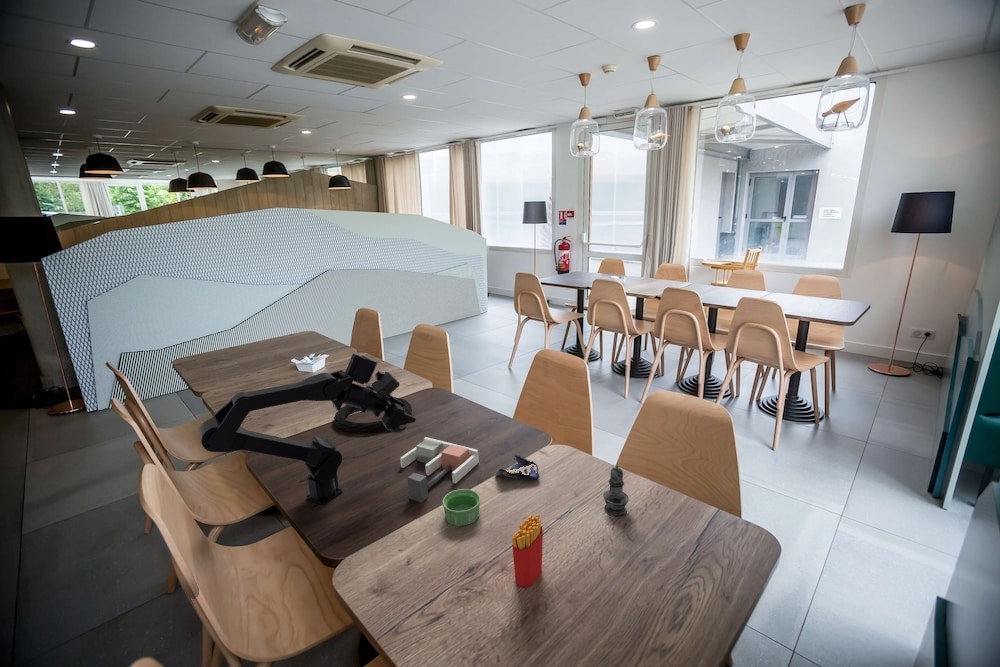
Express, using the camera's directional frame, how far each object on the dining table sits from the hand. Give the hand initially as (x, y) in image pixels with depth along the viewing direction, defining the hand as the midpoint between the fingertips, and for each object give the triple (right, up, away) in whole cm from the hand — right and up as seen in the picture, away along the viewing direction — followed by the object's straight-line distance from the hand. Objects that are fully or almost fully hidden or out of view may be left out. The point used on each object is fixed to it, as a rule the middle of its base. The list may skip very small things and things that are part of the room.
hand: (409, 412), depth 128 cm
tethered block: (+10, -17, -6) cm, 21 cm away
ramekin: (+17, -21, -21) cm, 34 cm away
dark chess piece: (+54, -20, -20) cm, 61 cm away
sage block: (+5, -15, +5) cm, 17 cm away
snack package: (+31, -17, -4) cm, 36 cm away
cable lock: (-19, -9, +35) cm, 41 cm away
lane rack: (+8, -16, +1) cm, 18 cm away
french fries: (+32, -25, -40) cm, 57 cm away
